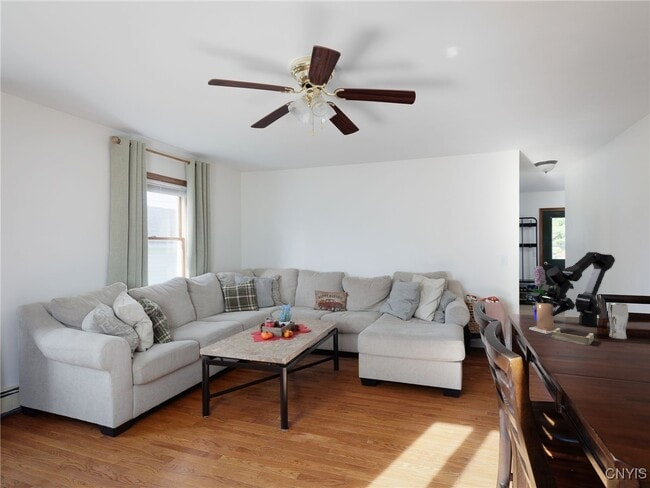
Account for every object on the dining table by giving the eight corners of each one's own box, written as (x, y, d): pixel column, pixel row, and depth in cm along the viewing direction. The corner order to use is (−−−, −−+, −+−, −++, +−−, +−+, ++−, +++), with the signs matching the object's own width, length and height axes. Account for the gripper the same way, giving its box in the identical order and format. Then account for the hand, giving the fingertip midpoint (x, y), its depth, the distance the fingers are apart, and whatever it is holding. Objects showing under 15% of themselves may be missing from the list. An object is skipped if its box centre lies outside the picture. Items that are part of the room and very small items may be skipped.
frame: (557, 334, 160) (557, 327, 160) (593, 340, 150) (593, 333, 150) (551, 338, 153) (551, 332, 153) (588, 345, 143) (588, 338, 143)
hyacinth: (557, 322, 182) (557, 266, 182) (535, 321, 184) (535, 266, 184) (549, 318, 191) (549, 264, 191) (529, 318, 193) (529, 264, 193)
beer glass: (620, 335, 158) (620, 302, 157) (632, 339, 151) (632, 305, 150) (604, 335, 158) (604, 302, 158) (615, 339, 151) (615, 305, 151)
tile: (543, 327, 172) (543, 325, 172) (560, 332, 164) (560, 330, 164) (529, 329, 170) (529, 327, 170) (546, 333, 161) (546, 332, 161)
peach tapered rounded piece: (543, 326, 171) (543, 302, 171) (556, 330, 165) (556, 305, 164) (533, 327, 169) (533, 303, 169) (546, 331, 162) (546, 306, 162)
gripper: (534, 276, 177) (518, 299, 173) (570, 280, 159) (553, 306, 156) (546, 291, 179) (530, 314, 176) (582, 296, 162) (565, 322, 158)
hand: (543, 313), depth 166 cm, fingers open, 9 cm apart
